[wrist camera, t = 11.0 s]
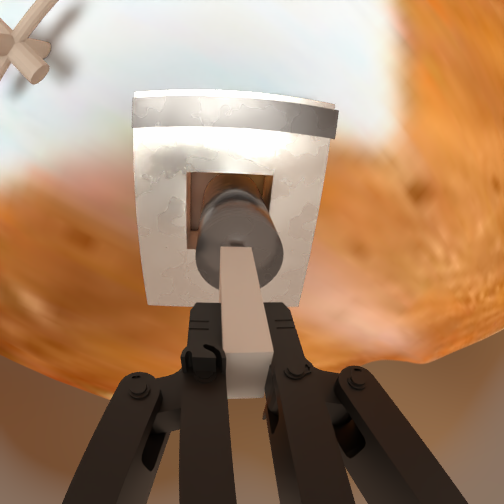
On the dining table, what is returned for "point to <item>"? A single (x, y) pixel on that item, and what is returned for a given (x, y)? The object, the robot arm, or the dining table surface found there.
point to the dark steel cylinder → (236, 228)
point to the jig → (225, 161)
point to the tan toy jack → (26, 44)
